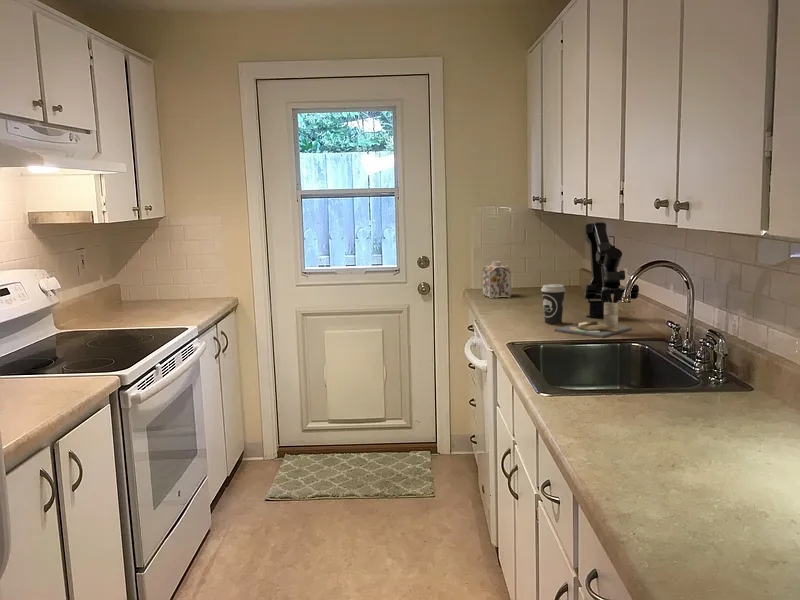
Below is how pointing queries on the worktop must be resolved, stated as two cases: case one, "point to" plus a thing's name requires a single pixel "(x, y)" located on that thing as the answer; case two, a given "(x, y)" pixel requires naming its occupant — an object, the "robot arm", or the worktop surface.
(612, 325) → the beige boot
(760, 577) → the worktop surface
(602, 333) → the board
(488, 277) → the decorative jar
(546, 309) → the coffee cup
